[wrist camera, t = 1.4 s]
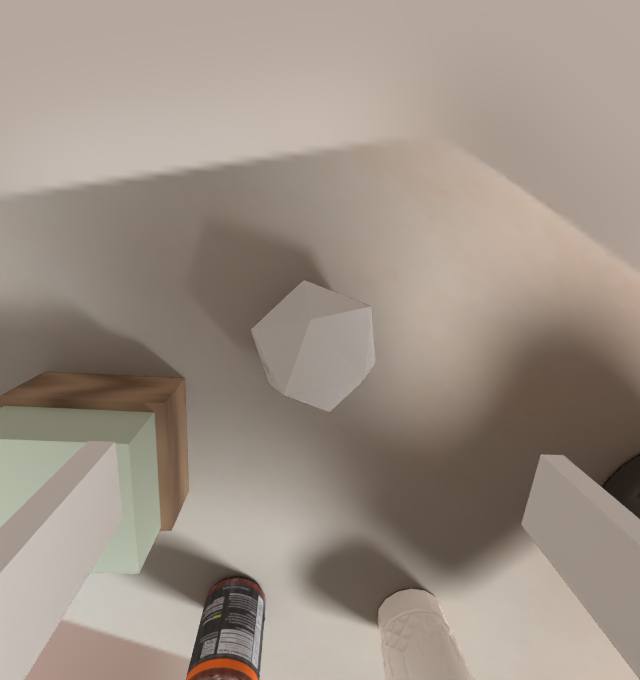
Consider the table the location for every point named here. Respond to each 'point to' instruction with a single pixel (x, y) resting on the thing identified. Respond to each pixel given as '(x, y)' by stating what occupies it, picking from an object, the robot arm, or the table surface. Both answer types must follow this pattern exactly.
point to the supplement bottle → (230, 633)
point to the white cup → (418, 639)
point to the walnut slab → (125, 396)
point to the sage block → (60, 445)
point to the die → (316, 345)
